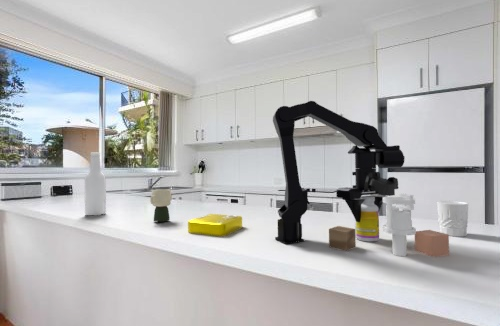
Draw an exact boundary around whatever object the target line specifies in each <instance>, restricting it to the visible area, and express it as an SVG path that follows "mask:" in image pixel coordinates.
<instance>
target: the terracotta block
mask: <svg viewBox="0 0 500 326" xmlns="http://www.w3.org/2000/svg"><path fill="white" fill-rule="evenodd" d="M449 241H450V238H449V234H444V233H440V231H435V230H432V229H425V230H416V234H415V235H414V251H416V252H418V253H420V254H425V255H427V256H430V257H433V258H435V257H436V258H437V257H444V256H449V255H450V243H449Z"/></svg>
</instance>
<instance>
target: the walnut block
mask: <svg viewBox="0 0 500 326" xmlns="http://www.w3.org/2000/svg"><path fill="white" fill-rule="evenodd" d="M356 240H357V238H356V237H355V228H351V227H347V226H340V225H337V226H333V227H330V228H328V245H329V248H331V249H336V250H340V251H344V252H349V251H350V250H352V249H354V248H356V246H357V245H356V244H357V243H356Z"/></svg>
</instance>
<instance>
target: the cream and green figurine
mask: <svg viewBox="0 0 500 326" xmlns="http://www.w3.org/2000/svg"><path fill="white" fill-rule="evenodd" d="M151 194H152V195H150V204H151V205H152V206H154V207H155V208H154V215H153V222H158V223H160V222H169V221H170V212H169V208H168V206H170V205H171V201H172V196H173V195H172V193H171V189H165V188H164V189H153V190H152V191H151ZM159 221H160V222H159Z"/></svg>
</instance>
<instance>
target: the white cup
mask: <svg viewBox="0 0 500 326" xmlns="http://www.w3.org/2000/svg"><path fill="white" fill-rule="evenodd" d="M436 207H437V208H436V209H437V220H438V226H439V232H440V233H444V234H449V236H450V237H456V238H457V237H458V238H459V237H460V238H462V237H467V231H468V229H467V228H468V223H469V222H468V219H469V203H468V202H463V201H457V200H456V201H455V200H454V201H453V200H439V201H436Z"/></svg>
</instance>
